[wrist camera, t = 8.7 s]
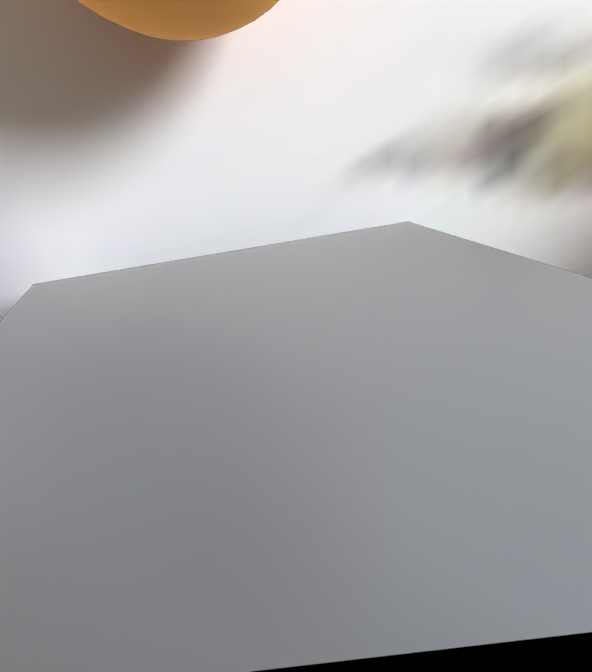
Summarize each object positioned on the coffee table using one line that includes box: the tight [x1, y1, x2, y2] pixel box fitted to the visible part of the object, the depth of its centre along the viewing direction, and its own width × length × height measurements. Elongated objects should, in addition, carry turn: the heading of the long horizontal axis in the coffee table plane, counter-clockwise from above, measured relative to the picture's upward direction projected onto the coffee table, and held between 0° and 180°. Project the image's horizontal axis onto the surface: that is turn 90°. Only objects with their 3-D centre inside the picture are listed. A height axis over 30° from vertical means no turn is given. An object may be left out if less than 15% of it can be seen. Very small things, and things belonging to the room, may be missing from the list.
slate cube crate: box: [0, 222, 592, 672], centre depth 7 cm, size 8×8×9 cm
